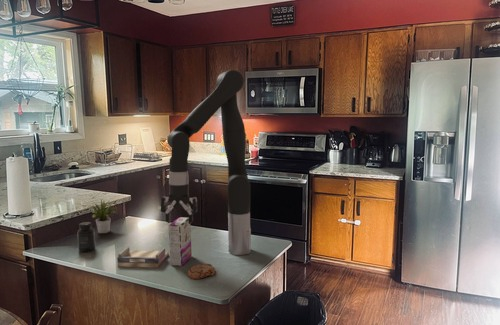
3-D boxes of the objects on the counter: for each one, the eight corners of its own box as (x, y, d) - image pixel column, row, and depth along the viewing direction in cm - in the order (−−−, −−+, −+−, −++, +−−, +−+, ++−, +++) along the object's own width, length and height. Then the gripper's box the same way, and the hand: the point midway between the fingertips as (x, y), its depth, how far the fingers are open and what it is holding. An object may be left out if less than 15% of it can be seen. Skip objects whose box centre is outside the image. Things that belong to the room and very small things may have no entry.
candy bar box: (180, 255, 158) (179, 216, 156) (191, 255, 157) (190, 217, 155) (169, 265, 147) (168, 224, 145) (181, 266, 146) (180, 225, 144)
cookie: (181, 277, 137) (181, 269, 137) (197, 267, 147) (197, 259, 146) (205, 282, 133) (205, 274, 133) (220, 271, 143) (220, 263, 142)
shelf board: (168, 254, 158) (168, 244, 158) (157, 267, 145) (157, 256, 145) (131, 253, 160) (130, 243, 159) (117, 266, 147) (116, 255, 146)
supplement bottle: (99, 248, 166) (97, 222, 165) (86, 254, 160) (84, 226, 158) (87, 246, 169) (85, 220, 168) (74, 251, 163) (72, 224, 161)
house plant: (102, 238, 179) (99, 204, 177) (81, 234, 185) (78, 202, 183) (123, 230, 192) (122, 198, 190) (103, 226, 198) (101, 196, 196)
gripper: (199, 181, 151) (199, 221, 153) (164, 180, 153) (165, 219, 155) (194, 184, 144) (194, 226, 146) (157, 183, 145) (158, 225, 147)
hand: (179, 222), depth 150 cm, fingers open, 8 cm apart
